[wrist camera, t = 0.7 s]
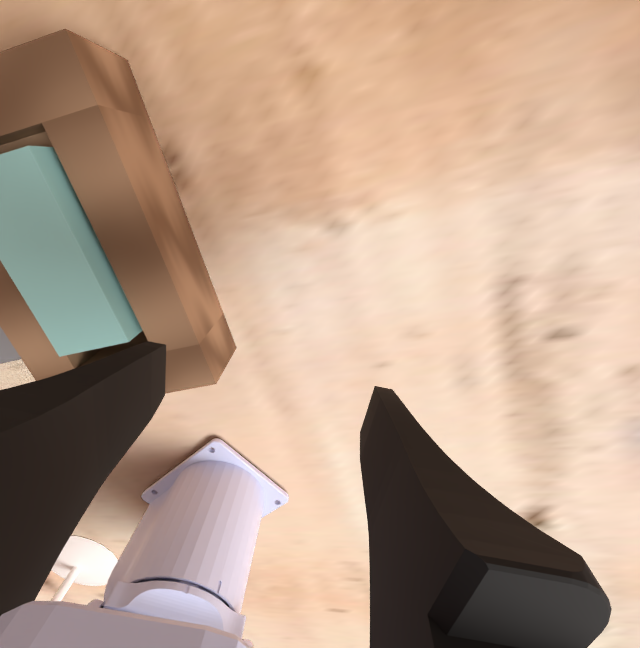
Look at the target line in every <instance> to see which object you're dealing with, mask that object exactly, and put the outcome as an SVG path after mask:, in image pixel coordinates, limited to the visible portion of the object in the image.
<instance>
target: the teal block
mask: <svg viewBox="0 0 640 648" xmlns="http://www.w3.org/2000/svg"><path fill="white" fill-rule="evenodd" d="M0 260H1V262H2V264H3V265H4V267H5V269H6V270H7V272H8V274H9V275H10V277H11V279H12V280H13V282H14V283H15V285H16V287H17V288H18V290H19V292H20V293H21V295H22V297H23V298H24V300H25V301H26V303H27V305H28V306H29V308H30V310H31V311H32V313H33V315H34V316H35V318H36V319H37V321H38V323H39V324H40V326H41V328H42V329H43V331H44V333H45V334H46V336H47V337H48V339H49V341H50V342H51V344H52V346H53V347H54V349H55V351H56V352H57V354H58V355H59V357H61V356H65V355H70V354H75V353H80V352H84V351H89V350H94V349H98V348H103V347H108V346H113V345H117V344H122V343H127V342H130V341H131V340H132V339H133V338H134V337H136V336H137V335H138V334H139V333H140V332H142V331H143V330H142V328H141V326H140V324H139V322H138V320H137V318H136V315H135V313H134V311H133V309H132V307H131V305H130V303H129V301H128V299H127V297H126V295H125V293H124V291H123V289H122V287H121V285H120V283H119V281H118V279H117V276H116V274H115V272H114V270H113V268H112V266H111V264H110V262H109V260H108V258H107V256H106V254H105V252H104V250H103V248H102V246H101V244H100V242H99V240H98V237H97V235H96V233H95V231H94V229H93V227H92V225H91V223H90V221H89V219H88V217H87V215H86V213H85V211H84V209H83V207H82V205H81V203H80V201H79V198H78V196H77V194H76V192H75V190H74V188H73V186H72V184H71V182H70V180H69V178H68V176H67V174H66V172H65V170H64V168H63V166H62V164H61V161H60V159H59V157H58V155H57V153H56V151H55V149H54V147H43V146H25V147H22V148H19V149H16V150H13V151H9V152H6V153H3V154H0Z"/></svg>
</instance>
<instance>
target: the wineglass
mask: <svg viewBox="0 0 640 648" xmlns="http://www.w3.org/2000/svg"><path fill="white" fill-rule="evenodd" d="M117 562H118V559H117V558H116V557H115V555H114V554H113V553H112V552H111V551H110V550H108V549H107V548H106V547H104V546H103V545H101V544H99V543H97V542H95V541H93V540H90V539H87V538H83V537H79V536H70V538H69V539H68V541H67V543H66V544H65V546H64V548H63V550H62V551H61V553H60V555H59V557H58V558H57V560H56V562H55V564H54V566H53V567H52V569H51V570H52V571H53V572H55V573H56V574H57V575H59V576H60V577H62V578H64V579H65V580H64V581H63V583H62V584H61V586H60V587H59V589H58V590H57V592H56V593H55V595H54V596H53V598H52V599H51V601H61V600H62V599H63V597H64V595H65V594H66V592H67V591H68V589H69V588H70V586H71V584H72V583H73V582H74V583H78V584H82V585H89V586H100V585H107V582H108V579H109V577H110V575H111V572H112V570H113V569H114V567H115V565H116V563H117Z"/></svg>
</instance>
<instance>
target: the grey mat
mask: <svg viewBox="0 0 640 648" xmlns="http://www.w3.org/2000/svg"><path fill="white" fill-rule="evenodd" d="M19 359H21V357H20V356H19V354H18V352H17V351H16V349H15V348H14V346H13V345H12V343H11V342H10V340H9V339H8V337H7V336H6V334H5V333H4V331H3V330H2V328H1V327H0V363H5V362H10V361H14V360H19Z"/></svg>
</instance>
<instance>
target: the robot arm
mask: <svg viewBox="0 0 640 648" xmlns="http://www.w3.org/2000/svg"><path fill="white" fill-rule="evenodd" d="M165 380H166V345H165V344H160V343H155V342H150V341H147V342H144V343H141V344H138V345H135V346H133V347H130V348H128V349H125V350H122V351H120V352H117V353H115V354H112V355H110V356H107V357H105V358H102V359H100V360H97V361H94V362H92V363H89V364H86V365H83V366H80V367H78V368H75V369H72V370H69V371H66V372H63V373H60V374H58V375H54V376H51V377H48V378H45V379H41V380H38V381H34V382H31V383H27V384H23V385H20V386H16V387H12V388H8V389H3V390H0V648H254V647H253V643H252V642H251V641H250V640H246V639H242V635H243V630H244V625H245V620H246V616H245V615H242V614H240V613H241V608H242V604H243V599H244V595H245V590H246V586H247V581H248V576H249V572H250V567H251V563H252V558H253V554H254V549H255V544H256V540H257V535H258V531H259V526H260V522H261V518H262V517H264V516H266V515H267V514H269V513H271V512H272V511H274V510H275V509H277V508H279V507H280V506H282V505H284V504H285V503H287V502H288V499H289V495H288V494H287V493H286V492H285V491H284V490H283V489H281V488H280V487H279V486H278V485H276V484H275V483H274V482H273V481H271V480H270V479H269V478H268V477H267V476H265V475H264V474H263V473H262V472H260V471H259V470H258V469H257V468H255V467H254V466H253V465H252V464H251V463H249V462H248V461H247V460H246V459H244V458H243V457H242V456H241V455H240V454H238V453H237V452H236V451H235V450H233V449H232V448H231V447H230V446H228V445H227V444H226V443H225V442H224V441H222V440H221V439H218V438H214V439H212V440H211V441H210V442H208V443H207V444H206V445H204V446H203V447H202V448H200V449H199V450H198V451H196V452H195V453H194V454H192V455H191V456H190V457H188V458H187V459H186V460H185V461H183V462H182V463H181V464H179V465H178V466H177V467H175V468H174V469H173V470H171V471H170V472H169V473H167V474H166V475H165V476H163V477H162V478H161V479H159V480H158V481H157V482H155V483H154V484H153V485H151V486H150V487H149V488H147V489H146V490H145V491H144V492H143V493H142V495H141V497H142V499H143V500H144V501H145V502H147V503H148V504H149V506H148V508H147V510H146V511H145V513H144V515H143V517H142V519H141V520H140V522H139V524H138V526H137V528H136V529H135V531H134V533H133V535H132V536H131V538H130V540H129V542H128V544H127V545H126V547H125V549H124V551H123V553H122V554H121V556H120V558H119V560H118V562H117V563H116V565H115V567H114V569H113V570H112V572H111V575H110V577H109V579H108V582H107V585H106V589H105V594H104V602H103V601H101V600H98V599H95V600H92V601H91V602H90V603H88V605H81V604H75V603H69V602H63V601H34V600H35V598H36V596H37V595H38V593H39V591H40V589H41V587H42V585H43V584H44V582H45V580H46V578H47V576H48V575H49V573H50V571H51V569H52V567H53V566H54V564H55V562H56V560H57V558H58V557H59V555H60V553H61V551H62V550H63V548H64V546H65V544H66V543H67V541H68V539H69V538H70V536H71V534H72V533H73V531H74V529H75V527H76V526H77V524H78V522H79V521H80V519H81V517H82V516H83V514H84V512H85V511H86V509H87V508H88V506H89V504H90V503H91V501H92V500H93V498H94V496H95V495H96V493H97V491H98V490H99V488H100V487H101V485H102V484H103V483H104V481H105V480H106V478H107V477H108V475H109V474H110V473H111V471H112V470H113V469H114V468H115V466H116V465H117V464H118V462H119V461H120V460H121V458H122V457H123V456H124V455H125V453H126V452H127V451H128V449H129V448H130V447H131V445H132V444H133V443H134V441H135V440H136V439H137V438H138V436H139V435H140V434H141V432H142V431H143V430H144V428H145V427H146V426H147V424H148V423H149V422H150V420H151V419H152V417H153V415H154V414H155V412H156V410H157V408H158V407H159V405H160V403H161V401H162V399H163V397H164V396H165ZM211 447H212V448H214V449H212V448H211ZM360 463H361V471H362V480H363V488H364V496H365V504H366V512H367V520H368V531H369V557H370V648H587V647H588V646H589V645H590V644H591V643H592V642H593V641H594V640H595V639H596V638H597V637H598V636H599V635H600V634H601V633H602V631H603V630H604V628H605V627H606V625H607V624H608V622H609V618H610V614H611V606H610V602H609V599H608V597H607V596H606V594H605V592H604V591H603V589H602V588H601V586H600V585H599V583H598V581H597V580H596V578H595V577H594V575H593V573H592V572H591V570H590V569H589V567H588V565H587V564H586V562H585V561H584V559H583V558H582V556H581V555H579V554H577V553H576V552H574V551H573V550H571V549H569V548H568V547H566V546H565V545H563V544H561V543H560V542H558V541H557V540H555V539H553V538H552V537H550V536H549V535H547V534H545V533H544V532H542V531H541V530H539V529H537V528H536V527H534V526H533V525H532V524H530V523H529V522H527V521H526V520H524V519H523V518H522V517H520V516H519V515H517V514H516V513H514V512H513V511H512V510H510V509H509V508H508V507H506V506H505V505H504V504H502V503H501V502H500V501H498V500H497V499H496V498H494V497H493V496H492V495H491V494H490V493H488V492H487V491H486V490H485V489H483V488H482V487H481V486H480V485H478V484H477V483H476V482H475V481H474V480H473V479H472V478H470V477H469V476H468V475H467V474H466V473H465V472H464V471H463V470H462V469H461V468H460V467H459V466H457V465H456V464H455V463H454V462H453V461H452V460H451V459H450V458H449V457H448V456H447V455H446V454H445V453H444V452H443V451H442V449H441V448H440V447H439V446H438V445H437V444H436V443H435V442H434V441H433V440H432V439H431V437H430V436H429V435H428V434H427V433H426V432H425V430H424V429H423V428H422V427H421V426H420V424H419V423H418V422H417V421H416V419H415V418H414V417H413V416H412V414H411V413H410V412H409V410H408V409H407V408H406V406H405V405H404V404H403V403H402V401H401V400H400V399H399V397H398V396H397V395H396V394H395V392H394V391H393V390H392V389H387V388H382V387H377V386H375V387H374V391H373V394H372V397H371V400H370V403H369V406H368V409H367V413H366V416H365V419H364V422H363V425H362V428H361V431H360ZM278 500H279V501H278Z"/></svg>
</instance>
